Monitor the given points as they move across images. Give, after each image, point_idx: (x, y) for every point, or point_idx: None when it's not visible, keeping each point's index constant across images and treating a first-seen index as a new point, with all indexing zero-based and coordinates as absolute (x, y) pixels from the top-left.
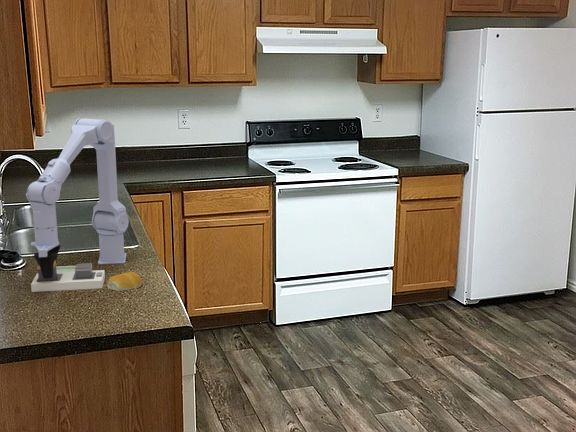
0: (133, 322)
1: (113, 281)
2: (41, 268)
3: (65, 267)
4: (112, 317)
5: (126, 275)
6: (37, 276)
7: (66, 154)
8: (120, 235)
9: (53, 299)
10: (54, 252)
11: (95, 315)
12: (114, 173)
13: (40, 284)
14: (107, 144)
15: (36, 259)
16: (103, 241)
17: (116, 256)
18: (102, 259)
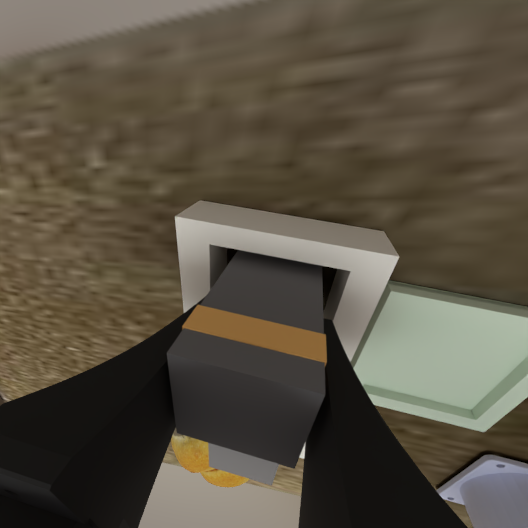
0: (20, 388)
1: (182, 441)
2: (156, 336)
3: (521, 377)
4: (31, 370)
5: (209, 472)
6: (320, 256)
7: None
8: None
9: (125, 278)
10: (303, 520)
11: (32, 349)
12: None
13: (182, 261)
14: None
15: (33, 397)
16: None
17: (470, 517)
18: (509, 484)
